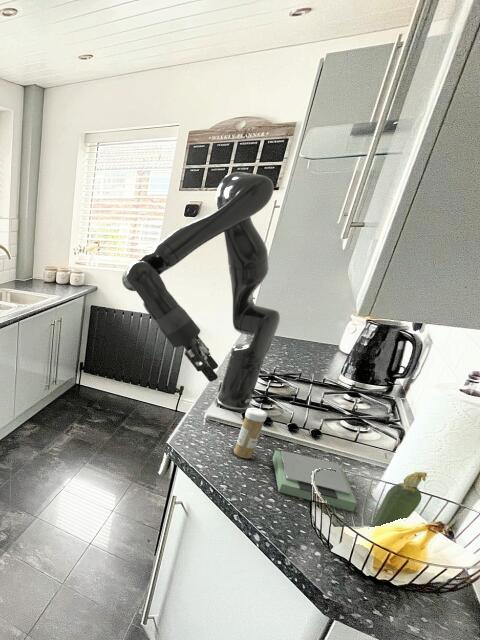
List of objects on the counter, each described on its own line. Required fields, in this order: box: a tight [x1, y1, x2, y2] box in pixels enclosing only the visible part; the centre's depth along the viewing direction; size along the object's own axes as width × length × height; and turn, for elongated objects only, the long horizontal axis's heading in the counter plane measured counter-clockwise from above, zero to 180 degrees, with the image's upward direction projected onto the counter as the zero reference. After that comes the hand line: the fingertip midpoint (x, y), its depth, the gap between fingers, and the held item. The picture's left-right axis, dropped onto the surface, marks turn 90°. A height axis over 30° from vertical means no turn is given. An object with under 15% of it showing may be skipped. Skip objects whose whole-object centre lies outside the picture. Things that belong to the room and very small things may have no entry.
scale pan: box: [279, 450, 350, 496], centre depth 104 cm, size 13×12×1 cm
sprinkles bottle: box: [233, 407, 268, 459], centre depth 112 cm, size 5×5×13 cm
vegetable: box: [368, 471, 429, 528], centre depth 80 cm, size 4×4×20 cm
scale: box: [272, 450, 358, 512], centre depth 103 cm, size 16×14×3 cm
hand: (214, 374), depth 111 cm, fingers open, 8 cm apart
